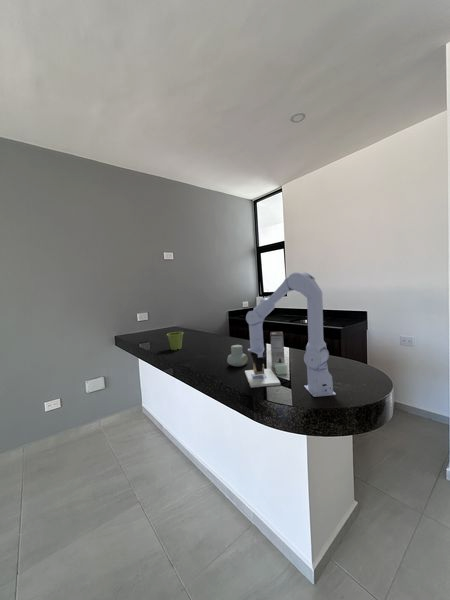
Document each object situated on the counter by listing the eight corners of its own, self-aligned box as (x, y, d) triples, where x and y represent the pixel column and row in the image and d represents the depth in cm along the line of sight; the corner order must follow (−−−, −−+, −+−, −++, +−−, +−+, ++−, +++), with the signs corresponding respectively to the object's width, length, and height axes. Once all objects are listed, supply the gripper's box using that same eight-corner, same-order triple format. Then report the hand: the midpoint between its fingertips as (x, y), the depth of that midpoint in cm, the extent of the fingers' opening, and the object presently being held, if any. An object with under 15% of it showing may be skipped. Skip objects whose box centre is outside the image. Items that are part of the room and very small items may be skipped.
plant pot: (164, 349, 178) (163, 334, 177) (178, 346, 186) (177, 331, 185) (173, 352, 169) (172, 335, 168) (187, 348, 177) (186, 332, 176)
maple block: (264, 374, 106) (263, 364, 106) (255, 374, 106) (254, 365, 106) (262, 371, 110) (262, 362, 110) (253, 371, 110) (253, 362, 110)
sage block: (286, 374, 112) (286, 365, 112) (277, 374, 112) (277, 365, 112) (284, 371, 116) (283, 362, 116) (275, 371, 116) (275, 363, 116)
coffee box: (272, 362, 131) (270, 331, 131) (284, 361, 130) (282, 331, 129) (271, 367, 122) (269, 334, 122) (285, 367, 121) (283, 334, 120)
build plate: (280, 384, 100) (280, 382, 100) (250, 387, 99) (250, 384, 99) (270, 370, 118) (270, 368, 118) (244, 372, 117) (244, 370, 117)
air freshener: (240, 369, 123) (239, 348, 123) (225, 367, 127) (224, 348, 127) (249, 362, 133) (248, 344, 132) (235, 361, 137) (234, 343, 136)
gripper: (245, 336, 115) (246, 365, 115) (249, 342, 100) (251, 376, 101) (260, 335, 115) (262, 364, 116) (267, 341, 101) (269, 374, 101)
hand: (258, 369), depth 108 cm, fingers closed on maple block, 4 cm apart
